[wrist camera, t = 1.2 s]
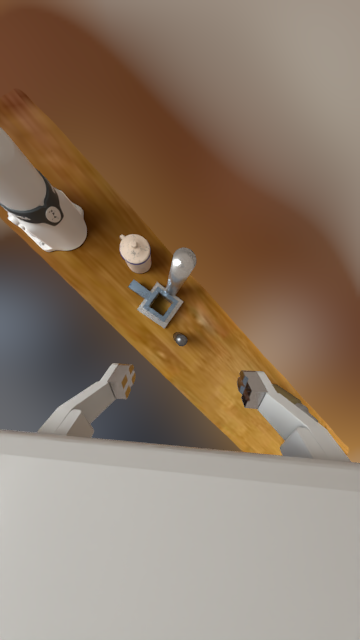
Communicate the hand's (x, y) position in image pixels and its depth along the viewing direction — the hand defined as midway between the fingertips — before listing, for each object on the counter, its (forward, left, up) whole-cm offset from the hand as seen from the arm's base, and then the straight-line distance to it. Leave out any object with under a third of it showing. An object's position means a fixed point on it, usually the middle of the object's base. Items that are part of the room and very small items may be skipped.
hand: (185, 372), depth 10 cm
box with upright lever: (-10, +8, -39) cm, 41 cm away
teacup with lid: (-24, +16, -40) cm, 49 cm away
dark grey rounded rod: (+5, +1, -39) cm, 40 cm away
